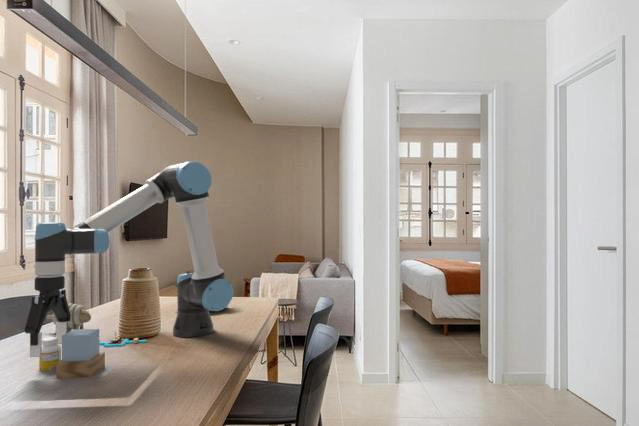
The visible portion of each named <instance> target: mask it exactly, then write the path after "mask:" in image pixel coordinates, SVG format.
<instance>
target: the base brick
mask: <svg viewBox="0 0 639 426" xmlns="http://www.w3.org/2000/svg"><path fill="white" fill-rule="evenodd" d="M105 354H106V352H105V351H103V352H102V351H101V352H100V351H99V354H98V355H96V356H95V357H93V358H92V359H91V360H89V361H68V362H62V359H61V360H60V361H59V362H57V369H56V370H57V378H62V379H69V378H68V377H91V376H93V375H94V374H95V373H97V372H98V371H99V370H101V369H102V368H103V367H105V366H106V356H105Z"/></svg>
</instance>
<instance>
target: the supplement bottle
mask: <svg viewBox="0 0 639 426" xmlns="http://www.w3.org/2000/svg"><path fill="white" fill-rule="evenodd" d="M57 343H58V337H56V336H51V337H44V338H42V356H41V357H38V359H39V363H38V364H39V366H38V367H39V370H40V371H52V370H53V371H54V370H57V362H59V361H60V360H62V345H61V344H57Z"/></svg>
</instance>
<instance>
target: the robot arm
mask: <svg viewBox="0 0 639 426" xmlns="http://www.w3.org/2000/svg"><path fill="white" fill-rule="evenodd" d="M211 186H212V175H211V173H210V171H209V169H208V168H207V167H206V166H205V165H204V164H203V163H202V162H199V161H194V160H193V161H184V162H180V163H176V164H171V165H169V166H167V167H165V168H164V169H162V170H160V171H159V172H158V173H155V175H153V176H152V177H150V178H148V179H146V180H145V182H144V185H143V186H140V187H139V188H137V189H136V190H134V191H132V192H130V193H129V194H127V195H125V196H123V197H122V198H121V199H119V200H116V202H114V203H111V204H110V205H109V206H107V207H105V208H104V209H102V210H100V211H98V212H97V213H95V214H93V215H92V216H89V217H88V218H87V219H84V220H83V221H81V222H79V224H76V225H75V226H73V227H70V228H67V227H66V224H65V223H64V222H38V223H37V224H36V226H35V235H34V265H33V266H34V275H35V276H36V277H35V278H34V290H35V291H36V292H37V291H38V292H39V293H38V295H33V296H32V297H31V306H30V309H29V312H28V316H27V320H26V324H25V328H24V333H25V334H29V358H39V357H41V356H42V347H43V345H42V340H43V338H42V337H43V332H42V331H41V329H42V327H43V325H44V322H45V319H46V316H47V315H48V313H49V312H50V311H51V310H52V312H54V314H55V316H56V318H57V320H58V321H59V322H56V325H55V337H58V343H57V344H58V345H62V335H64V334H66V333H67V330H66V323H67V322H66V321H70V317H71V314H70V310H69V306H68V304H69V303H68V298H67V292H66V291H67V290H66V289H65V287H66V286H65V285H66V281H65V279H66V278H65V274H66V255H85V254H86V255H88V254H95V255H97V254H104V253H106V252H107V251H108V249H109V248H110V247H109V246H110V233H111V232H112V231H114V230H116V229H117V228H118V227H121V226H122V225H123V224H125V223H126V222H128V221H130V220H131V219H133V218H134V217H136V216H138V215H140V214H141V213H142V212H145V211H146V210H147V209H150V208H151V207H152V206H153V205H155V204H157V203H158V204H163V203H164V202H165V201H168V200H169V199H172V198H174V199H175V204H176V205H177V206H180V208H181V210H182V211H181V212H182V216H183V217H182V218H183V221H184V226H185V231H186V235H187V241H188V246H189V251H190V255H191V260H192V265H193V269H194V272H189V273H180V274H179V275H178V276H177V282H176V286H177V287H176V289H177V290H176V291H177V292H176V293H177V298H176V299H177V303H176V304H177V307H178V308H177V314H176V317H175V320H174V324H173V326H172V335H173V336H174V337H175V336H176V337H181V338H193V337H194V338H195V337H201V336H206V335H209V334H212V333H213V332H214V331H215V330H214V323H213V320H212V317H211V314H210V312H219V311H223V309H225V308H227V307H229V305H230V303H231V301H232V299H233V296H234V287H233V285H232V283H231V282H230V281H229V280H227V279H226V276H225V275H226V274H225V271H224V269H223V268H221V267H220V266H219V262H218V257H217V253H216V247H215V243H214V236H213V233H212V227H211V222H210V217H209V212H208V208H207V207H208V206H207V201H208V199H209V198H210V195H209V189H210V187H211Z"/></svg>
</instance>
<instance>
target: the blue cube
mask: <svg viewBox="0 0 639 426" xmlns="http://www.w3.org/2000/svg"><path fill="white" fill-rule="evenodd" d="M99 340H100V328H86V329H85V328H83V329H80V328H79V329H74V330H73V329H72V330H71V331H67V332H66V334H64V335H62V344H61V360H62V362H68V361H89V360H91V359H92V358H93V357H95V356H96V355H98V354H99V352H100V345H99Z"/></svg>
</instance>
